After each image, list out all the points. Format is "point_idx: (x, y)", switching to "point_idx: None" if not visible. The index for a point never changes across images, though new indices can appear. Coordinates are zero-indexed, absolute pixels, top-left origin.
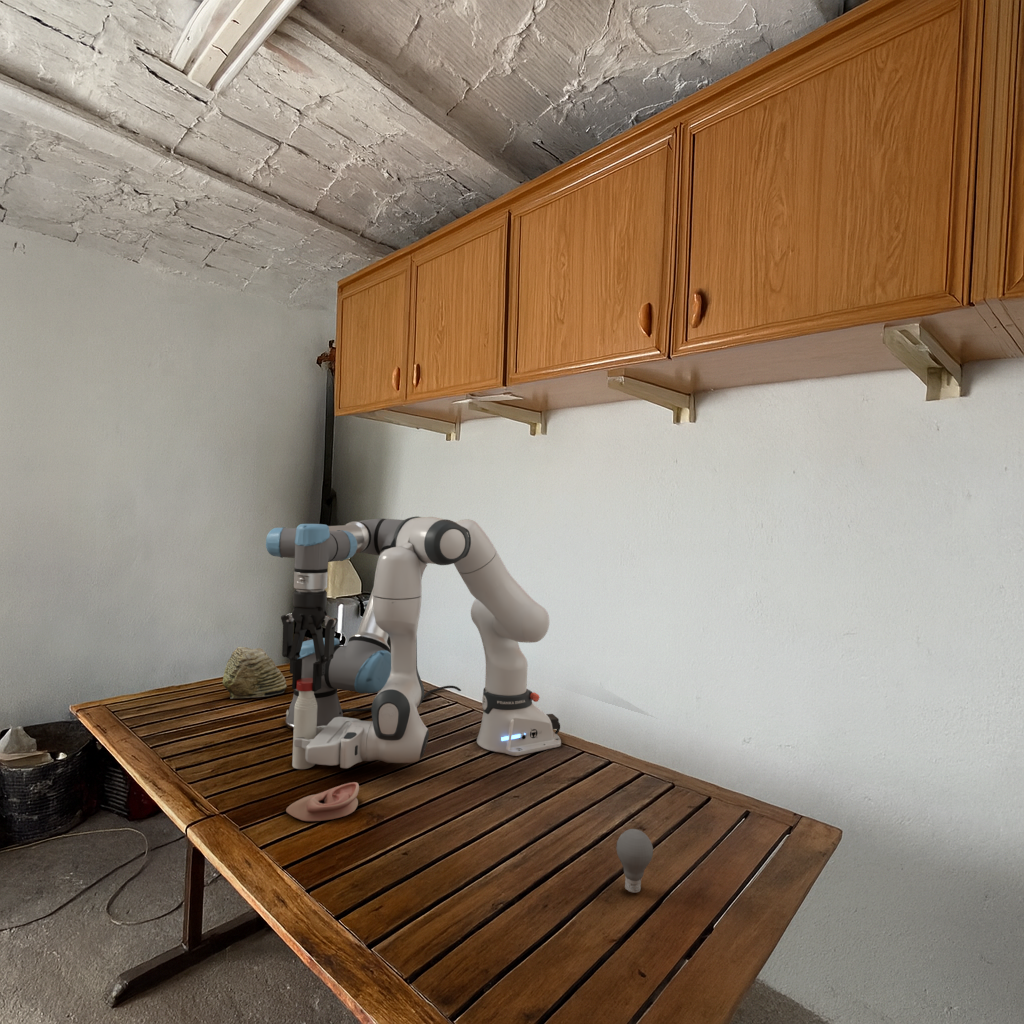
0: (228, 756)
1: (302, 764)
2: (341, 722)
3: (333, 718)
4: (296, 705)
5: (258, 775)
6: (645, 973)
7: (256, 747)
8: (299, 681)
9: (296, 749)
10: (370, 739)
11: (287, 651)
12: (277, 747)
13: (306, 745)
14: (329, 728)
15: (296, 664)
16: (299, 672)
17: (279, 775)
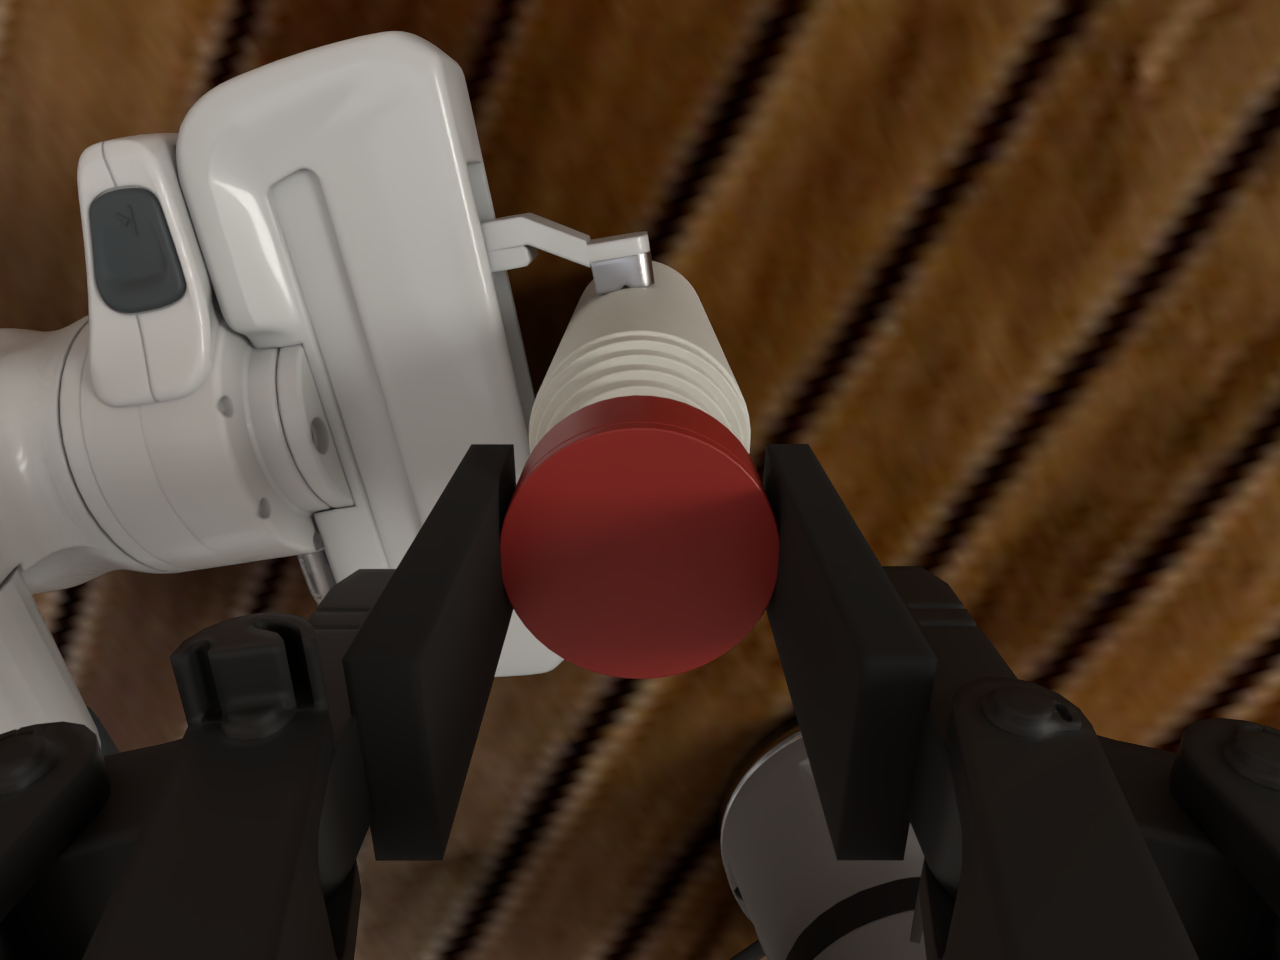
0: (1128, 293)
1: None
2: None
3: None
4: (697, 358)
5: (819, 99)
6: None
7: (1022, 455)
8: (719, 495)
9: (656, 275)
10: (54, 344)
11: (1252, 855)
12: (904, 490)
13: (537, 218)
14: None
15: (840, 639)
16: (794, 638)
17: (696, 142)
